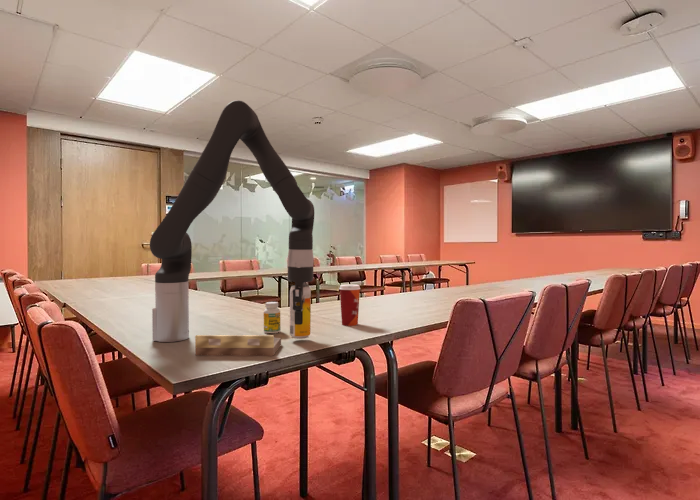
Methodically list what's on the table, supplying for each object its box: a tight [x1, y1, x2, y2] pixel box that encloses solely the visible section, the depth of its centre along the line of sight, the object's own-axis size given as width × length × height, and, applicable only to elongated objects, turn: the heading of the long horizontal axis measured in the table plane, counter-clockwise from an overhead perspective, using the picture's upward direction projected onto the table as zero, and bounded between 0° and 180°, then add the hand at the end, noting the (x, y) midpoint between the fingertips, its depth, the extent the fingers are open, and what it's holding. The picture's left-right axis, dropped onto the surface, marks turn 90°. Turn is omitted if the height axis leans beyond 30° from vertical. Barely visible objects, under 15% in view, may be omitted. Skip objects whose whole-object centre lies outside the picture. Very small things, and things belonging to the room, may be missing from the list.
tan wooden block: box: [194, 334, 282, 357], centre depth 111 cm, size 20×11×5 cm, turn 89°
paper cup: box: [338, 283, 362, 327], centre depth 146 cm, size 8×8×14 cm
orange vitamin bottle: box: [289, 284, 312, 340], centre depth 121 cm, size 6×6×15 cm
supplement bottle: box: [263, 301, 281, 334], centre depth 133 cm, size 5×5×10 cm
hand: (300, 321), depth 121 cm, fingers closed on orange vitamin bottle, 6 cm apart
